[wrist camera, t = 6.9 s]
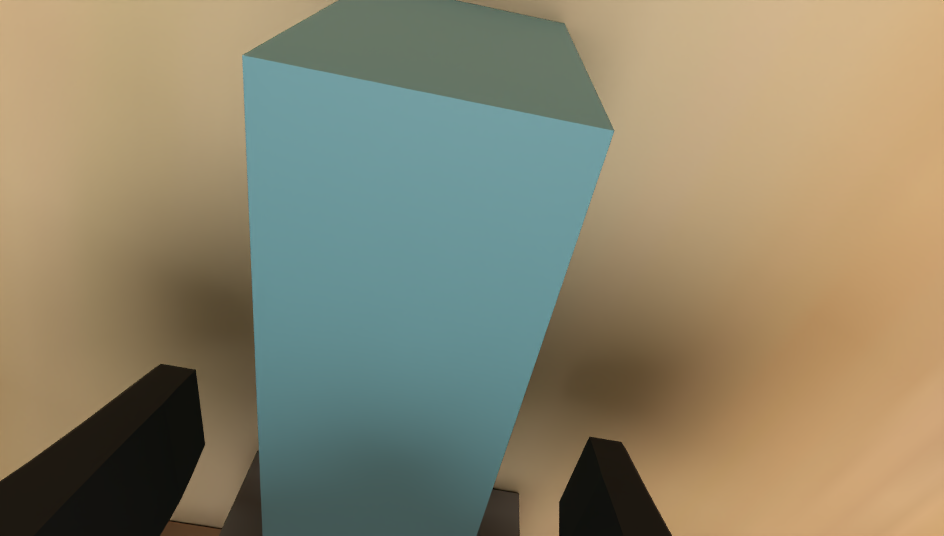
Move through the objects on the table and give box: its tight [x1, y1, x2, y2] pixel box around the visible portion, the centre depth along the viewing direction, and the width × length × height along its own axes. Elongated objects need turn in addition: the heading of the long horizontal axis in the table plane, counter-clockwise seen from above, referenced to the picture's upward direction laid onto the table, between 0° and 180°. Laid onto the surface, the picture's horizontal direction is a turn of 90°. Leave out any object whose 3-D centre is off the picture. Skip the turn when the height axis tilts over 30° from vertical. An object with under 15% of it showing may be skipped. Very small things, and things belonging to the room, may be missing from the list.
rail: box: [242, 0, 614, 536], centre depth 11 cm, size 3×15×5 cm, turn 170°
